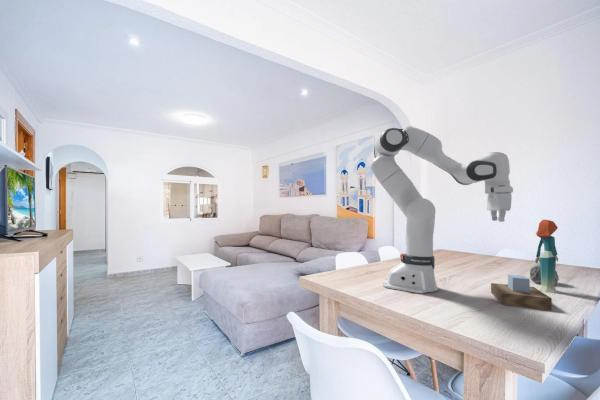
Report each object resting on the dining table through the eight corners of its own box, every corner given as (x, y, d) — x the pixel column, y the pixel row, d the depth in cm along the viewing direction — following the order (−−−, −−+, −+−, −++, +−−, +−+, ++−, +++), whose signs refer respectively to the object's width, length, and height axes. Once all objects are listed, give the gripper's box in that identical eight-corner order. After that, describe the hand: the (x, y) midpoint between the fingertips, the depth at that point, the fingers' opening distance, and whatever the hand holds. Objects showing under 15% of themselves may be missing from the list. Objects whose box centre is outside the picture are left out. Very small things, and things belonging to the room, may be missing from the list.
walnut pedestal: (502, 304, 96) (502, 293, 96) (491, 292, 109) (490, 283, 109) (551, 310, 91) (551, 298, 91) (533, 297, 104) (533, 286, 104)
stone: (548, 263, 120) (542, 258, 128) (526, 275, 124) (522, 270, 132) (567, 281, 116) (560, 275, 125) (544, 293, 120) (539, 287, 129)
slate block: (512, 291, 99) (512, 277, 99) (508, 287, 103) (507, 274, 104) (529, 292, 97) (529, 279, 97) (524, 288, 102) (523, 275, 102)
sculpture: (568, 295, 106) (567, 220, 106) (548, 294, 107) (547, 220, 108) (545, 286, 118) (544, 218, 119) (528, 285, 120) (526, 218, 120)
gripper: (482, 191, 128) (483, 219, 127) (495, 188, 109) (496, 222, 108) (498, 190, 125) (498, 220, 125) (514, 187, 106) (515, 222, 106)
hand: (497, 221), depth 116 cm, fingers open, 8 cm apart
